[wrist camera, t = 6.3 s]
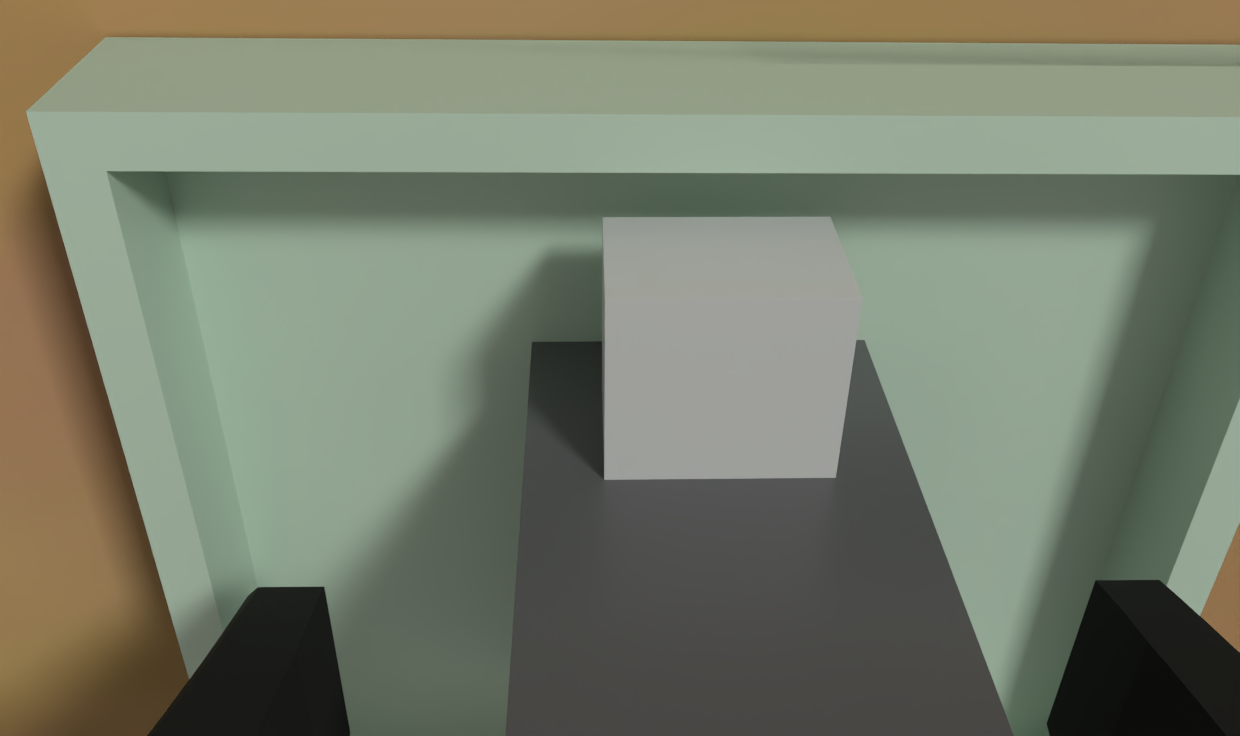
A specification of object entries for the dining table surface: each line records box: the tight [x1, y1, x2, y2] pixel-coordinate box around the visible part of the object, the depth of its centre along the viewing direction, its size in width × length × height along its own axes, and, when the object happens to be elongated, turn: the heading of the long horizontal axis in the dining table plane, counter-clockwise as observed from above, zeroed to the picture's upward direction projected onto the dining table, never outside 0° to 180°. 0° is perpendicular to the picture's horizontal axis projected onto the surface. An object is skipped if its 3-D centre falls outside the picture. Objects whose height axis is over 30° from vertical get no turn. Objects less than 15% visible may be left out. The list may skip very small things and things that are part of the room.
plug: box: [505, 217, 1014, 736], centre depth 10 cm, size 7×3×6 cm, turn 179°
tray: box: [26, 37, 1240, 736], centre depth 13 cm, size 10×11×2 cm
